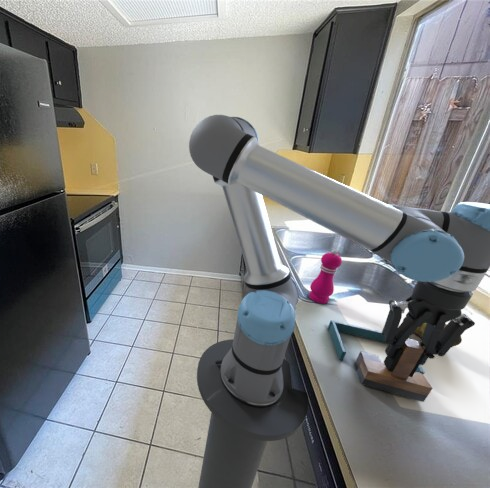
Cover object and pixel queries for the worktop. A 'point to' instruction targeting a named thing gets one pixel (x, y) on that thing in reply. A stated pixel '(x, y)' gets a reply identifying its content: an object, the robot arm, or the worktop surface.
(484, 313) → the worktop surface
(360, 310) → the worktop surface
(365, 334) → the teal u-shaped frame
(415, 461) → the worktop surface
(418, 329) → the yellow-green oblong lump
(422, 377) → the wooden t-shaped block
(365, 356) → the walnut block
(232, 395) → the robot arm
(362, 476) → the worktop surface
